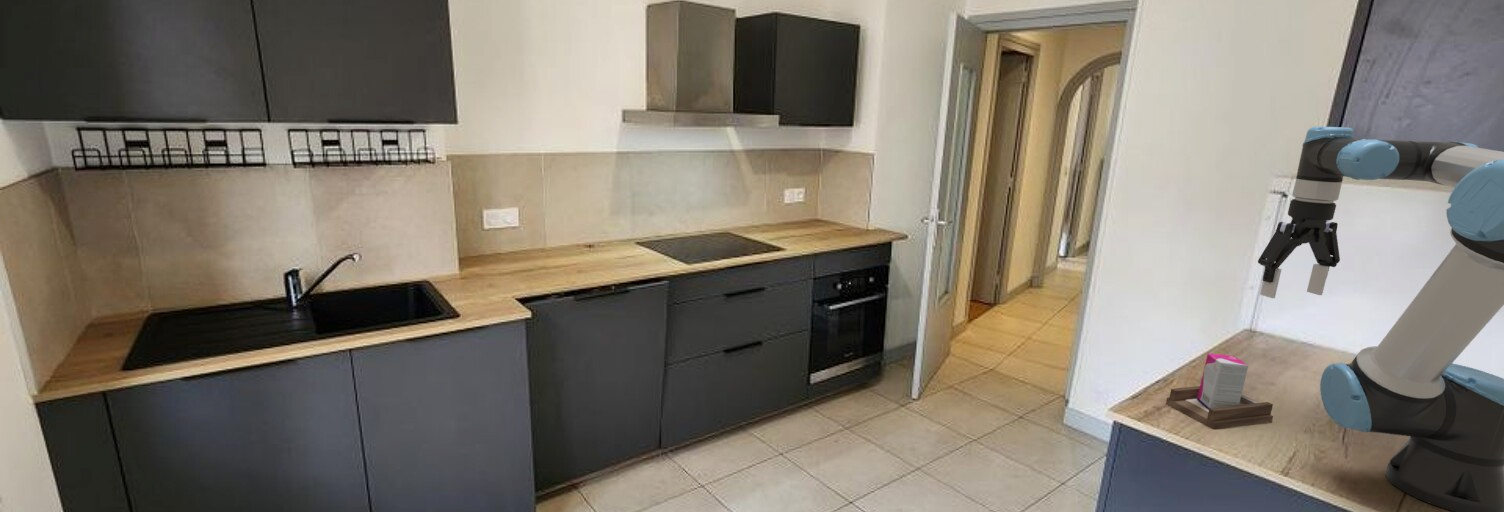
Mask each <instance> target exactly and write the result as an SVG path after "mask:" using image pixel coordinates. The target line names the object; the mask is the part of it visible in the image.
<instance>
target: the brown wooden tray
mask: <svg viewBox="0 0 1504 512" xmlns="http://www.w3.org/2000/svg"><path fill="white" fill-rule="evenodd" d="M1199 389H1200V385H1196V386H1188V387H1187V386H1186V387H1177V388H1175V387H1174V388H1170V394H1169V397H1167V398H1166V400H1165V404H1166V405H1167V406H1169V407H1171V408H1173V409H1174V410H1177V411H1179V412H1180V413H1182V414H1184V415H1186V416H1187V417H1190V418H1192V419H1194V420H1195V421H1197V422H1199V423H1200V424H1202V425H1205V426H1206V427H1209V428H1210V429H1211V430H1219V429H1227V428H1237V427H1244V426H1245V427H1246V426H1251V425H1252V426H1253V425H1260V424H1268V423H1270V424H1271V423H1272V422H1273V419H1274V415H1272V414H1271V413H1272V410H1273V407H1274V404H1273V403H1271V402H1269V401H1263V402H1259V401H1256V400H1254V399H1252V398H1251V397H1248V396H1246V395H1243V394H1241V398H1240V403H1239V405H1235V406H1226V407H1217V408H1209V410H1208V409H1207V408H1206V407H1205V406H1204V405H1203V404H1201V403H1200V402H1199V401H1198V400H1197V398H1198V393H1199Z"/></svg>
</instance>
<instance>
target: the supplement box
mask: <svg viewBox="0 0 1504 512" xmlns="http://www.w3.org/2000/svg"><path fill="white" fill-rule="evenodd" d="M1203 368H1204V369H1203V372H1202V377H1201V381H1200V385H1199V386H1200V389H1199V393H1198V398H1197V400H1198V401H1199V402H1200V403H1201V404H1203V405H1204V406H1205V407H1206V408H1207V409H1208V410H1209V408H1217V407H1226V406H1235V405H1239V403H1240V398H1241V394H1242V393H1243V388H1244V386H1245V381H1246V377H1247V373H1248V369H1249V365H1248V364H1247V363H1245V362H1244V361H1242V360H1241V359H1239V358H1238V357H1236V356H1235V355H1230V354H1229V355H1228V354H1227V355H1226V354H1218V353H1210V352H1209V353H1207V354H1206V359H1205V363H1204V367H1203ZM1242 395H1243V394H1242Z"/></svg>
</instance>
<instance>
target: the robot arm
mask: <svg viewBox="0 0 1504 512" xmlns="http://www.w3.org/2000/svg"><path fill="white" fill-rule="evenodd" d="M1354 134H1355V131H1354V129H1353V128H1351V127H1341V126H1340V127H1339V126H1311V127H1310V128H1308V130H1307V132H1306V135H1305V138H1304V141H1303V143H1302V148H1301V153H1300V158H1299V163H1298V166H1297V167H1298V168H1297V172H1296V178H1295V182H1294V187H1293V190H1292V194H1291V195H1292V197H1293V198H1292V199H1291V200H1290V202H1289V207H1288V211H1287V215H1288V216H1289V217H1291V220H1290V222H1284V221H1279V222H1278V223H1277V226H1276V229H1275V232H1274V234H1273V235H1272V237H1271V239H1270V240H1269V242H1268V243H1267V245H1266V246H1265V248H1264V250H1263V252H1262V253H1261V254H1260V256H1259V258H1258V260H1257V263H1258V264H1260V266H1263V267H1264V271H1263V274H1262V275H1263V276H1262V284H1261V288H1260V292H1259V295H1261V296H1264V297H1267V298H1270V299H1276V294H1277V289H1278V286H1279V281H1280V278H1281V273H1282V268H1280V266H1281V265H1282V264H1283V263H1284V262H1285V261H1286V260H1287V259H1288V258H1289V256H1290V255H1292V253H1293V252H1294V250H1295V249H1296V248H1297V247H1300V246H1302V245H1303V244H1304V245H1305V244H1309V246H1310V249H1311V251H1312V253H1313V256H1314V258H1315V261H1316V263H1313V265H1312V269H1311V272H1310V276H1309V279H1308V280H1309V281H1308V285H1307V290H1306V293H1310V294H1312V295H1313V294H1314V295H1317V296H1323V293H1324V290H1325V286H1326V285H1325V284H1326V281H1327V278H1328V274H1329V271H1330V267H1332V268H1336V266H1337V265H1338V263H1340V260H1341V259H1340V251H1339V250H1340V249H1339V242H1338V234H1337V229H1338V222H1336V221H1335V222H1334V221H1332V220H1334V217H1335V213H1336V209H1337V204H1336V201H1338V200H1339V197H1340V193H1341V188H1342V184H1343V180H1344V177H1345V178H1346V177H1347V178H1351V179H1353V180H1357V181H1359V180H1362V181H1363V180H1364V181H1375V180H1396V181H1397V180H1398V181H1404V180H1405V181H1417V182H1418V181H1419V182H1427V183H1432V184H1436V185H1440V186H1441V185H1442V186H1447V187H1451V188H1453V190H1452V191H1451V192H1450V195H1449V198H1448V201H1447V203H1448V204H1449V205H1450V206H1449V207H1447V208H1446V210H1445V211H1446V218H1447V222H1448V224H1449V226H1450V227H1451V229H1450V232H1449V233H1450V236H1451V238H1452V240H1453V241H1454V243H1455V245H1454V246H1453V247H1452V249H1451V250H1450V251H1449V253H1448V254H1447V255H1446V257H1445V258H1444V259H1443V260H1442V262H1441V263H1440V264H1439V265H1438V267H1437V268H1436V270H1434V272H1433V273H1432V274H1431V276H1430V277H1429V278H1428V280H1427V281H1426V283H1425V284H1424V285H1423V287H1422V288H1421V289H1420V290H1419V291H1418V293H1417V294H1416V296H1415V297H1414V299H1413V300H1412V301H1411V302H1410V303H1409V305H1408V306H1407V308H1406V309H1405V310H1404V311H1403V312H1402V314H1401V315H1400V317H1399V318H1398V319H1397V321H1396V322H1395V323H1394V325H1393V326H1392V327H1391V328H1390V330H1389V331H1388V332H1387V334H1386V335H1385V336H1384V337H1383V339H1382V340H1381V341H1380V343H1379V344H1378V345H1375V346H1368V347H1365V348H1362V349H1361V350H1360V351H1359V352H1357V354H1356V356H1355V357H1354V358H1353V359H1352V361H1351V362H1349V363H1344V362H1338V363H1331V364H1329V365H1327V366H1326V367H1325V368H1324V370H1323V372H1322V374H1321V377H1320V382H1319V383H1320V384H1319V387H1320V388H1319V389H1320V396H1321V397H1320V398H1321V401H1322V405H1323V407H1324V409H1325V411H1326V413H1327V415H1328V416H1329V418H1330V419H1331V420H1332V421H1333V422H1334V423H1335V424H1337V425H1338V426H1340V427H1342V428H1344V429H1348V430H1355V431H1360V432H1362V433H1376V434H1385V435H1395V436H1403V437H1404V436H1405V437H1409V438H1408V440H1407V442H1405V444H1404V445H1402V447H1401V448H1400V449H1399V450H1398V451H1397V452H1396V453H1395V454H1394V455H1393V456H1392V457H1391V458H1390V460H1389V461H1388V463H1387V465H1386V469H1385V471H1384V472H1385V473H1384V475H1385V477H1386V479H1387V481H1389V482H1390V483H1391V484H1392V485H1394V487H1396V488H1398V489H1399V490H1400V491H1402V492H1403V493H1406V494H1408V495H1409V496H1412V497H1414V498H1416V499H1419V500H1421V501H1423V502H1426V503H1428V504H1430V505H1433V506H1436V507H1438V508H1441V509H1444V510H1448V511H1451V512H1504V378H1503V377H1500V376H1498V375H1495V374H1493V373H1489V372H1486V371H1483V370H1481V369H1476V368H1472V367H1470V366H1466V365H1461V364H1458V363H1454V362H1455V361H1456V359H1457V358H1458V357H1459V356H1460V355H1461V353H1463V352H1464V350H1465V349H1466V348H1468V346H1469V345H1470V344H1471V342H1472V341H1473V340H1474V339H1475V338H1476V337H1477V336H1478V335H1479V334H1480V332H1481V331H1482V330H1483V329H1484V328H1485V327H1486V326H1487V324H1488V323H1490V321H1491V320H1492V319H1493V318H1494V316H1495V315H1496V314H1497V313H1498V312H1500V310H1501V309H1502V308H1503V307H1504V151H1500V150H1496V149H1495V150H1494V149H1487V148H1484V147H1483V148H1482V147H1479V146H1478V145H1476V144H1474V143H1469V142H1468V143H1467V142H1460V141H1421V140H1420V141H1419V140H1398V139H1397V140H1394V139H1376V138H1375V139H1371V138H1370V139H1369V138H1354V136H1355V135H1354Z"/></svg>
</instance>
